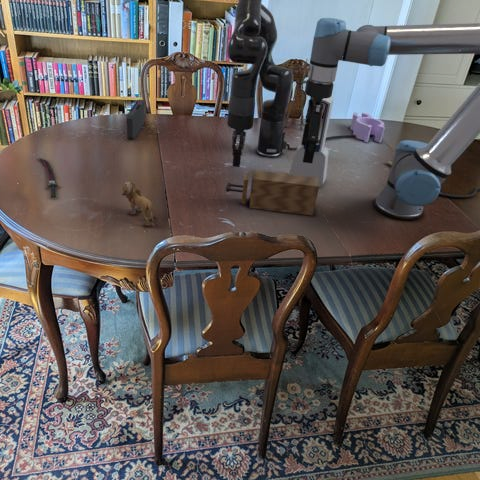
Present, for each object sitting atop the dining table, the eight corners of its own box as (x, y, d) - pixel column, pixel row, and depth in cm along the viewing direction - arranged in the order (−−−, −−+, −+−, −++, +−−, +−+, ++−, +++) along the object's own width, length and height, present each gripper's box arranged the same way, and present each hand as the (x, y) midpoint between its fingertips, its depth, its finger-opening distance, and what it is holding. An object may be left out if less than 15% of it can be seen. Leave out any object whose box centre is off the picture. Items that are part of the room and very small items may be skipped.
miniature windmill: (301, 130, 212) (313, 61, 196) (283, 127, 213) (293, 58, 197) (303, 124, 220) (314, 57, 204) (285, 121, 221) (295, 54, 205)
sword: (61, 197, 141) (61, 193, 140) (50, 198, 139) (50, 194, 139) (49, 160, 164) (48, 156, 163) (39, 160, 163) (39, 157, 162)
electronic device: (325, 180, 169) (342, 97, 152) (321, 188, 163) (339, 103, 146) (292, 173, 172) (306, 91, 155) (287, 181, 165) (301, 96, 149)
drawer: (224, 201, 147) (226, 177, 142) (226, 194, 151) (228, 170, 147) (301, 210, 146) (306, 186, 142) (301, 203, 151) (305, 179, 146)
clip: (343, 126, 223) (346, 112, 219) (367, 127, 225) (371, 113, 221) (360, 142, 206) (364, 127, 202) (386, 142, 209) (390, 127, 205)
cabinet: (249, 207, 147) (252, 178, 141) (250, 198, 152) (253, 170, 147) (313, 215, 146) (318, 186, 141) (312, 206, 152) (317, 177, 146)
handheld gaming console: (138, 121, 203) (138, 98, 197) (145, 121, 203) (144, 98, 198) (126, 140, 184) (125, 115, 178) (133, 140, 184) (132, 115, 178)
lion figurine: (118, 210, 138) (116, 182, 133) (132, 204, 141) (131, 177, 137) (151, 229, 130) (150, 201, 126) (165, 223, 134) (165, 195, 129)
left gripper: (230, 102, 139) (226, 156, 149) (226, 116, 128) (221, 173, 137) (255, 105, 139) (249, 159, 148) (253, 119, 128) (246, 176, 137)
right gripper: (305, 68, 138) (293, 137, 149) (308, 91, 117) (294, 168, 128) (330, 71, 138) (316, 140, 149) (338, 94, 117) (321, 172, 128)
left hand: (236, 166), depth 143 cm, fingers closed
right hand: (306, 153), depth 139 cm, fingers open, 13 cm apart
